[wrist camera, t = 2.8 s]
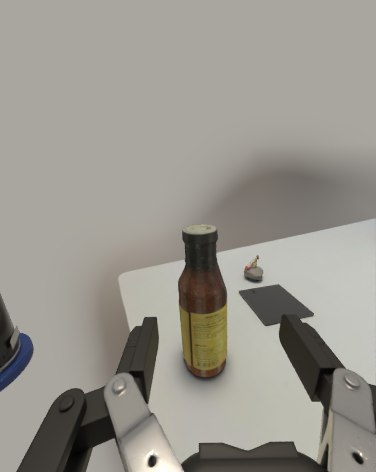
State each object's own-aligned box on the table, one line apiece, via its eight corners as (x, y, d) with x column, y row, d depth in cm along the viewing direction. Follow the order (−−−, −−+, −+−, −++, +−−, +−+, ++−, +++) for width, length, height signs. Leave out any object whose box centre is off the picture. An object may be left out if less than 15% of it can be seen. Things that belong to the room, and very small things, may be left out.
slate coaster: (265, 325, 34) (265, 323, 34) (238, 292, 43) (239, 290, 43) (313, 315, 36) (314, 313, 36) (278, 286, 45) (278, 284, 45)
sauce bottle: (233, 355, 29) (242, 226, 23) (211, 391, 24) (214, 242, 18) (197, 334, 33) (196, 218, 26) (172, 362, 28) (163, 230, 22)
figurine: (265, 283, 47) (267, 260, 45) (246, 283, 47) (248, 260, 45) (258, 272, 52) (260, 251, 50) (241, 272, 52) (242, 251, 50)
